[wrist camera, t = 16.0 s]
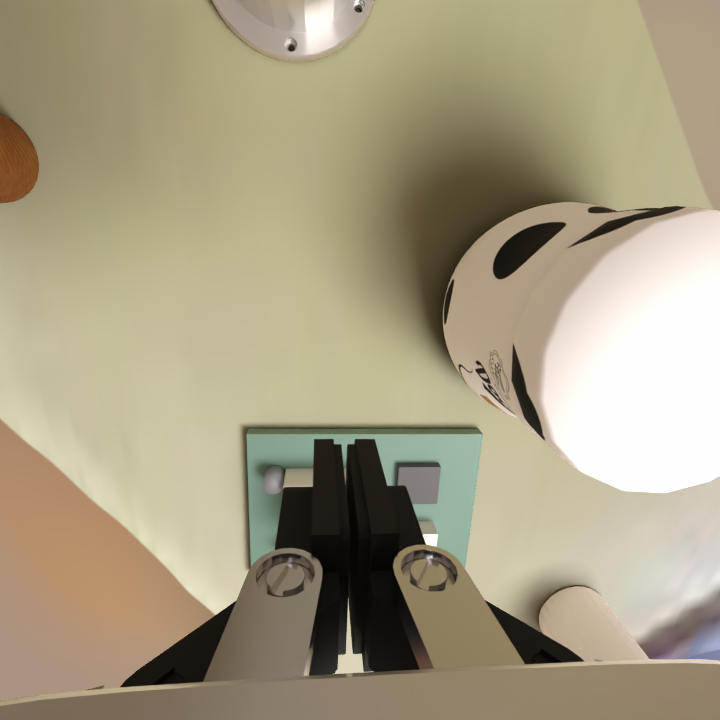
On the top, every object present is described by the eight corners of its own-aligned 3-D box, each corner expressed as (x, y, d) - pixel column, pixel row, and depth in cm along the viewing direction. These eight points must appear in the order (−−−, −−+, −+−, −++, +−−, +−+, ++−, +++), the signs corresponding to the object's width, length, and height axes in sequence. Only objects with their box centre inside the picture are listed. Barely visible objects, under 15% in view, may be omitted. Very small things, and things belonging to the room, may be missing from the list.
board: (248, 428, 40) (240, 450, 36) (478, 428, 42) (495, 449, 38) (253, 570, 45) (246, 604, 41) (460, 564, 47) (474, 595, 43)
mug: (526, 606, 49) (579, 702, 39) (588, 573, 49) (658, 661, 39) (566, 671, 53) (624, 774, 43) (624, 641, 52) (697, 738, 42)
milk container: (438, 408, 41) (523, 533, 24) (425, 219, 36) (519, 206, 19) (612, 383, 42) (814, 486, 25) (623, 194, 37) (883, 161, 20)
